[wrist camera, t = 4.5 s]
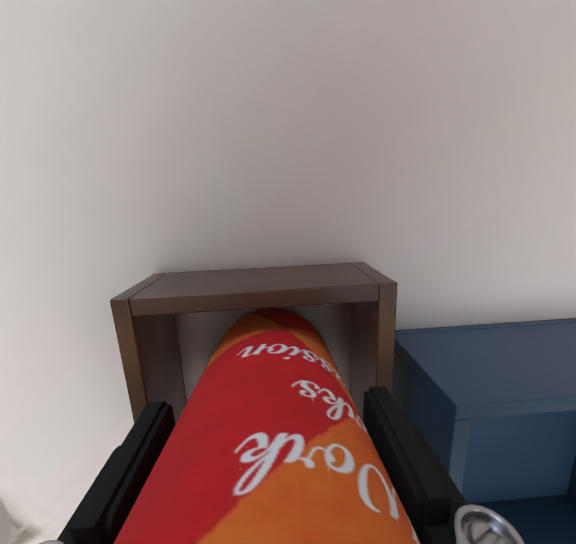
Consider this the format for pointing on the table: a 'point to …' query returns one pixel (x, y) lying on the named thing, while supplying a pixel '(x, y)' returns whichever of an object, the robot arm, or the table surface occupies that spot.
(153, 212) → the table surface
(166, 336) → the wooden divided tray
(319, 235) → the table surface
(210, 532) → the paper cup
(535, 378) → the blue square tray
